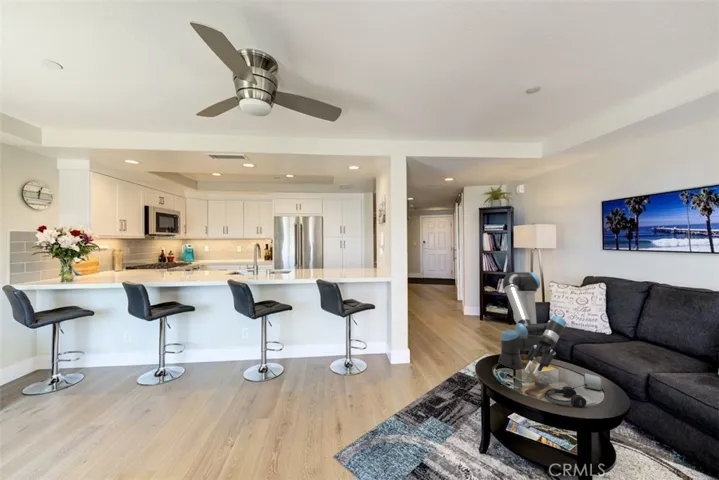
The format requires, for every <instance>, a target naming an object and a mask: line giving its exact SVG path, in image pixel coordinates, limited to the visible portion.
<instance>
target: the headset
mask: <svg viewBox="0 0 719 480" xmlns="http://www.w3.org/2000/svg"><path fill="white" fill-rule="evenodd" d="M584 386H587V384H584V383H583V384H582V385H579V386H576V387H572V386H566V385H565V386H563V387H562V389H559V388H558V389H556V388H554V389H550V390H547V391H546V395H545V399H546V400H547V401H549V402H551V403H552V404H555V405H559V406H572V405H574V406H575V407H576V408H584V407H585V406H586V405H587V400H586V398H585V397H583V396H582V395H581V394H577V391H576V390H575V389H576V388H579V387H584ZM555 394H559V395H561V394H562V395H563V396H564V397H565V398H567V400H564V399H558V398H555V397H552V396H550V395H555ZM568 399H570V400H568Z"/></svg>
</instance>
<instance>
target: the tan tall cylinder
mask: <svg viewBox="0 0 719 480" xmlns="http://www.w3.org/2000/svg"><path fill="white" fill-rule="evenodd" d="M538 363H539V362H538V361H537V360H536V359H535V357H533V360H532V361H531V362H530V371H529V372H530V374H529V375H530V380H531V381H532V382H539V381H540V379H541V378H540V372H539V373H538V375H537V377H536V376H535V375H534V374H533V372H534V371H535V369H536V367H537V365H538Z"/></svg>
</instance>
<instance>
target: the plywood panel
mask: <svg viewBox="0 0 719 480" xmlns="http://www.w3.org/2000/svg"><path fill="white" fill-rule="evenodd" d="M520 388H521V389H519V391H520V392H521V393H522V394H525V395H528V396H530V397H533V398H535V399H538V400H540V399H542V398H543V397H546V391H547V390H550V389H555V387H554V386H550V385H549V386H548V387H546V388H545V389H543V388H540V387H538V386H535V381H532V382H531V383H529V384H528V385H527V384H526V386H523V387H520Z"/></svg>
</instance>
